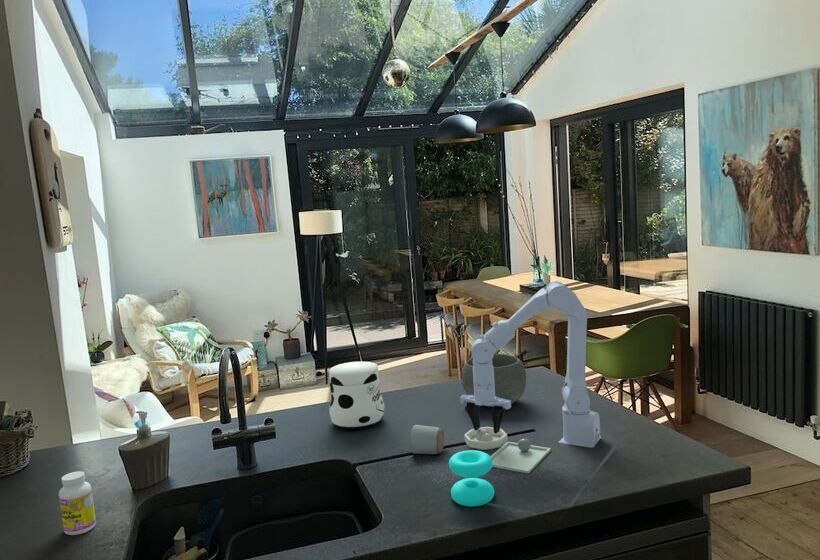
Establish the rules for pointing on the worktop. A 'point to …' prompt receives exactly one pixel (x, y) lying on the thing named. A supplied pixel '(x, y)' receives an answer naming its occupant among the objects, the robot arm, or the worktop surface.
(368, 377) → the milk container
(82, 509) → the supplement bottle
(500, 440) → the stoneware bowl
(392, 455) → the worktop surface
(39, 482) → the worktop surface
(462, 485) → the donuts
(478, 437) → the pebble grey
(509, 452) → the parts tray
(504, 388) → the bowl
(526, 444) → the pebble slate
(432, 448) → the ceramic mug
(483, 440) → the beige round ball
